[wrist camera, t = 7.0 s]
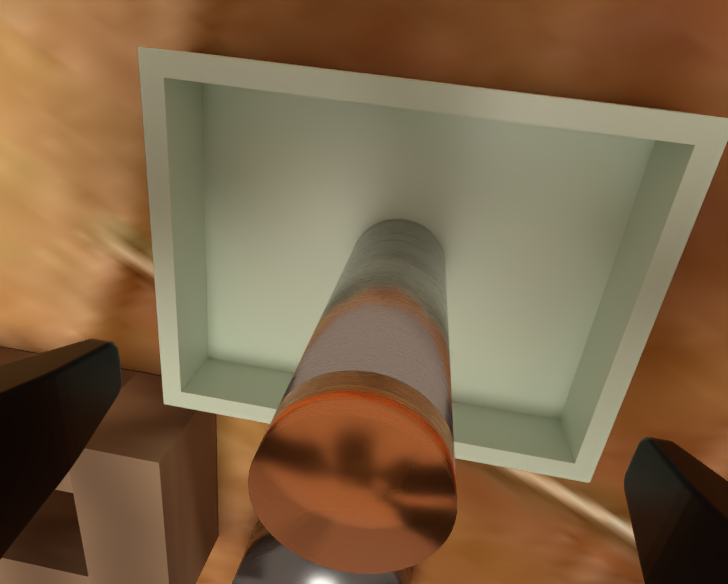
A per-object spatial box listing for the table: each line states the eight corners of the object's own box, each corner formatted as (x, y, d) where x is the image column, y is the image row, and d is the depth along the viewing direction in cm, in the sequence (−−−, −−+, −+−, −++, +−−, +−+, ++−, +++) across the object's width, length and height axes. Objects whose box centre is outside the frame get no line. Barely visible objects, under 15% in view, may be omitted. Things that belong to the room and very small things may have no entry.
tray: (682, 111, 12) (735, 119, 10) (569, 427, 17) (589, 483, 14) (187, 51, 14) (137, 46, 11) (198, 362, 18) (163, 404, 16)
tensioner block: (215, 385, 18) (158, 462, 14) (218, 536, 21) (172, 630, 18) (-33, 340, 19) (-145, 403, 15) (6, 492, 22) (-78, 573, 19)
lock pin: (453, 226, 14) (477, 437, 6) (436, 313, 15) (436, 590, 7) (356, 211, 14) (249, 396, 6) (347, 298, 15) (246, 551, 7)
